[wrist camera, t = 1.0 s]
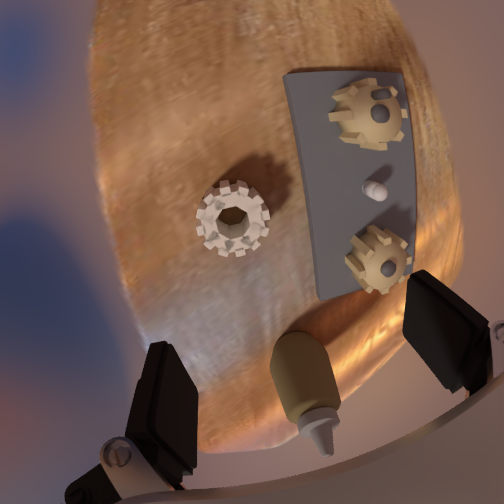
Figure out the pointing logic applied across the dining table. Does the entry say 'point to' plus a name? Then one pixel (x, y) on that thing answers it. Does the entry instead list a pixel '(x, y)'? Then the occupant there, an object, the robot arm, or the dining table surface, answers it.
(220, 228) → the cream idler gear
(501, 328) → the robot arm
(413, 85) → the dining table surface
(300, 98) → the gear board
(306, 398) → the squeeze bottle
